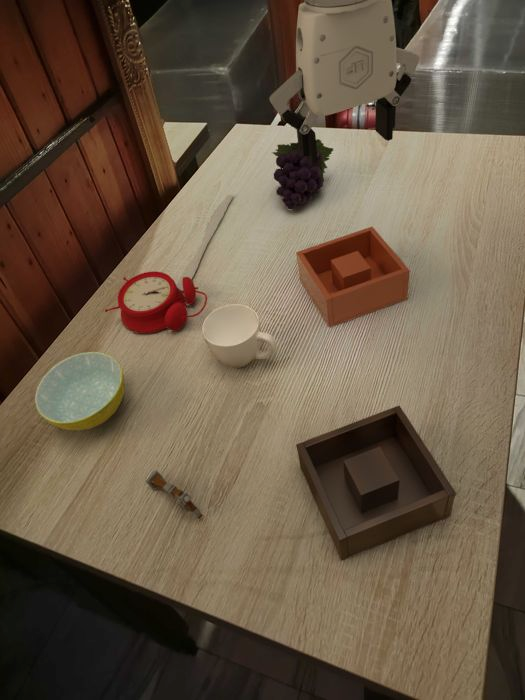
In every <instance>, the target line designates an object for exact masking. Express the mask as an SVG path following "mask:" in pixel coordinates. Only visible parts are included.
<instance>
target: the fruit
mask: <svg viewBox="0 0 525 700" xmlns="http://www.w3.org/2000/svg"><path fill="white" fill-rule="evenodd" d="M276 146H277V148H276V149H275V151H273V152H272V154H273V155H274V156H275V157H276V159H275V163H276V166H277V167H278V168H276V169H275V170H274V173H273V179H274V180H275V182H278V185H280V186H278V187H277V189H276V190H275V192H276V195H278V196H280V197H282V202H283V204H284V205H285V207H286V208H287V209H288V210H290V211H291V210H294V209H295V208H296V207H297V204H298V205H304V203H305V202H308V201H310V200H312V196H313V195H312V193H318V192H319V191H320V190H322V188H323V187H324V182H325V179H324V174H326V171H325V169H328V165H327V164H326V162H327V161H329V160H330V158H329V157H331V156H330V155H332V152H333V151H334V148H333V147H327V146H325V145H324V142H322V140H321V139H319V138H316V148H317V160H318V162H317V163H316V164H314V165H311V164H310V163H309V161H308V160H307V159H306V158H305V157H302V156H301V154H300V152H299V147H298V141H297V142H290V143H287V144H284V143H283V144H277V145H276Z"/></svg>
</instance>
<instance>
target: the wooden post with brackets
mask: <svg viewBox="0 0 525 700" xmlns="http://www.w3.org/2000/svg"><path fill="white" fill-rule="evenodd" d="M145 482H146V483H147V485H148V486H149V487H150V489H152V491H156V490H157V489H160V490H163V491H164V492H165V493H166V494H169V496H171V497H172V498H176V499H177V500H178V501H179V503H178V506H179V507H180V508H181V509H182V510H184V511H185V512H186V513H189V512H190V513H191V514H192V515H194V516H195V518H196V519H198V520H201V519H202V517H203V516H204V514H203V513H202V512H201V509H199V508H198V506H196V505H195V504H194V502H193V501H192V500H191V499H192V497H191V495H190V494H188V491H187V492H186V491H184V490H183V489H182V488H181V489H179V487H177V486H176V485H175V484H172V483H171V482H169V481H166V480H165V478H164V477H163V476H162V475H161V474H160V472H159V470H157V469H155V470H154V471H153V472H152V473H151V474H150V475H149V476H148V477H147V478H146V479H145Z"/></svg>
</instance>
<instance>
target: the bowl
mask: <svg viewBox="0 0 525 700" xmlns="http://www.w3.org/2000/svg"><path fill="white" fill-rule="evenodd" d="M124 394H125V376H124V372H123V369H122V366H121V365H120V363H119V361H118V360H116V358H114V357H113V356H111V355H109V354H107V353H104V352H100V351H99V352H98V351H86V352H85V351H84V352H80V353H77V354H74V355H71V356H68V357H66V358H64V359H62V360H61V361H58V363H56V364H55V365H53V367H51V368H50V369H49V370H48V371H47V372H46V373H45V374H44V376H43V377H42V378H41V380H40V382H39V384H38V385H37V387H36V391H35V397H34V403H35V408H36V410H37V411H38V414H39V415H40V416H41V417H43V419H44V420H46V421H47V422H49V423H50V424H51V425H53V426H55V427H57V428H60V429H63V430H67V431H84V430H89V429H92V428H95V427H98V426H99V425H102V424H103V423H104V422H106V421H108V420H109V419H110V418H111V417H112V416H113V415H114V414H115V412H116V411H117V410H118V409H119V407H120V404H121V402H122V400H123V397H124Z"/></svg>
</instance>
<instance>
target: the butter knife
mask: <svg viewBox="0 0 525 700" xmlns="http://www.w3.org/2000/svg"><path fill="white" fill-rule="evenodd" d="M233 197H234V195H233V194H228V195H227V196H226V197H225V198H224V199H223V200H222V201H221V202H220V203H219V204H218V206H217V207H216V208H215V209H214V211H213V212H212V214H211V216H210V218H209V221H208V223H207V225H206V228H205V232H204V236H203V238H202V241H201V244H200V245H199V248H198V250H197V251H196V253H195V255H194V257H193V258H192V259H191V261H190V262H189V264H188V265H187V267H186V268H185V270H184V272H183V273H182V275H181V276H180V278H179V280H178V281H177V284H176V287H177V288H179V289H180V290H181V291H182V292H184V290H183V282H182V280H183V277H189V278H190V279H192V280H193V279H194V278H193V277H194V276H195V273H196V271H197V269H198V267H199V264H200V262H201V260H202V257H203V255H204V252H205V250H206V249H207V247H208V244H209V242H210V240H211V239H212V237H213V235H214V234H215V232H216V230H217V228H218V226H219V224H220V223H221V221H222V219H223V217H224V215H225V213H226V212H227V211H226V210H227V209H228V207H229V204H230V203H231V201H232V199H233Z"/></svg>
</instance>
